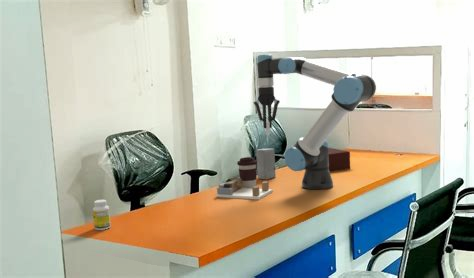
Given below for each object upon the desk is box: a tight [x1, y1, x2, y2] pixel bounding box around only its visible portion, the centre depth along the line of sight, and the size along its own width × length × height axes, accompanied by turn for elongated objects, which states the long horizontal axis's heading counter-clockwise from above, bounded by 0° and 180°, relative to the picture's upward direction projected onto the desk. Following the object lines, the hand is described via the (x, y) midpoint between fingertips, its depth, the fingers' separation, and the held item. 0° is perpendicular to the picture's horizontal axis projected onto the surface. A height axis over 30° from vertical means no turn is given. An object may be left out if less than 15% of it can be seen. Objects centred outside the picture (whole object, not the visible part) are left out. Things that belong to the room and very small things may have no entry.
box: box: [329, 147, 351, 172], centre depth 322 cm, size 21×16×10 cm
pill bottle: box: [92, 199, 111, 231], centre depth 217 cm, size 6×6×11 cm
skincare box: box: [255, 147, 276, 180], centre depth 300 cm, size 8×7×16 cm
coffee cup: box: [236, 156, 258, 188], centre depth 277 cm, size 10×10×15 cm
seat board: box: [215, 181, 273, 200], centre depth 264 cm, size 22×16×5 cm
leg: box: [224, 176, 243, 192], centre depth 267 cm, size 14×3×5 cm, turn 153°
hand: (267, 134), depth 273 cm, fingers closed
